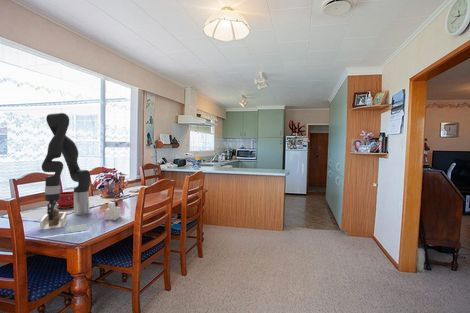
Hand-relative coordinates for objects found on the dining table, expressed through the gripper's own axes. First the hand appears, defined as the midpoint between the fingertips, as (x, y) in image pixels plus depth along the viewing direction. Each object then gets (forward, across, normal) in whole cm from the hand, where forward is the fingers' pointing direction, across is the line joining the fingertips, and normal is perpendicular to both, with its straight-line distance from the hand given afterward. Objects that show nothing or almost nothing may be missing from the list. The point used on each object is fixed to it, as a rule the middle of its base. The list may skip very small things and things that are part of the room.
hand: (52, 218), depth 143 cm
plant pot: (+5, +48, -1) cm, 48 cm away
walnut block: (+4, 0, -1) cm, 4 cm away
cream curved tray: (+5, +1, -1) cm, 5 cm away
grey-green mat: (+5, -13, -14) cm, 20 cm away
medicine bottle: (+5, +2, -34) cm, 34 cm away
